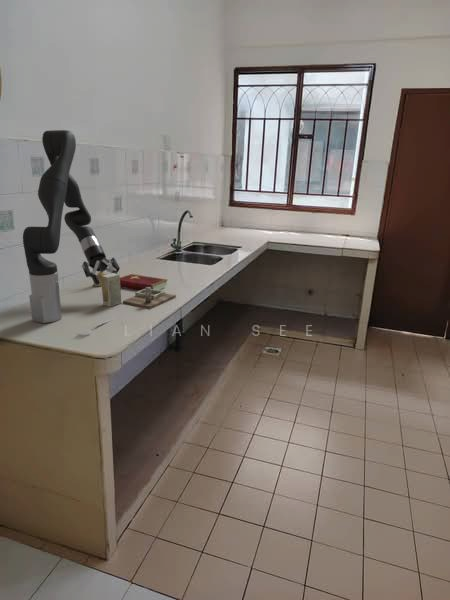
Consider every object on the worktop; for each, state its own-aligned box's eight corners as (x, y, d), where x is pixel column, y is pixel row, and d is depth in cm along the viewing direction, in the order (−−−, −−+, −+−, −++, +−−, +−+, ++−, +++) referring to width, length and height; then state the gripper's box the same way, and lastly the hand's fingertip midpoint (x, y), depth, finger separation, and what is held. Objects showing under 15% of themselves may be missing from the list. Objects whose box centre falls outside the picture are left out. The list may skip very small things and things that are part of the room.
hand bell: (101, 281, 205) (98, 248, 200) (115, 283, 202) (113, 250, 198) (90, 285, 198) (87, 251, 193) (104, 287, 195) (102, 253, 190)
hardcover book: (152, 293, 188) (152, 284, 187) (115, 287, 197) (115, 278, 196) (167, 287, 199) (167, 278, 197) (132, 281, 208) (131, 273, 206)
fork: (122, 316, 159) (122, 312, 159) (82, 340, 137) (82, 334, 137) (115, 315, 160) (114, 311, 160) (74, 338, 138) (74, 333, 137)
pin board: (150, 308, 167) (150, 291, 165) (122, 303, 173) (122, 286, 171) (175, 297, 183) (175, 281, 181) (149, 292, 189) (148, 277, 187)
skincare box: (115, 301, 176) (113, 272, 172) (122, 303, 173) (120, 274, 169) (102, 304, 171) (100, 275, 167) (108, 306, 168) (106, 277, 165)
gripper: (78, 246, 168) (94, 279, 164) (111, 242, 177) (126, 274, 173) (73, 257, 173) (89, 290, 169) (105, 253, 183) (120, 284, 178)
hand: (108, 282), depth 171 cm, fingers open, 8 cm apart
